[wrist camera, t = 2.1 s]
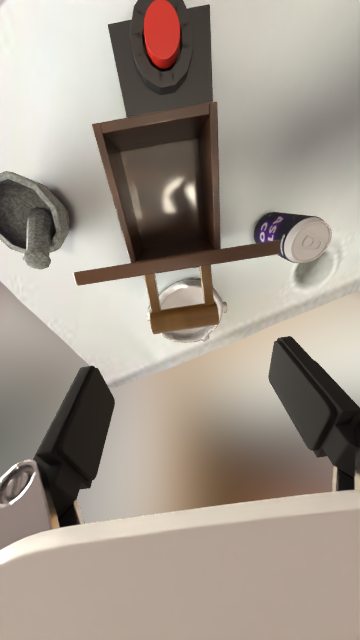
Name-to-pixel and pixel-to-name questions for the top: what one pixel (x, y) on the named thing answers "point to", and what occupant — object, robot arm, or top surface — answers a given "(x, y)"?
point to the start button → (162, 33)
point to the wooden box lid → (189, 314)
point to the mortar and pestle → (31, 219)
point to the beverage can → (294, 235)
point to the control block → (171, 83)
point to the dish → (184, 296)
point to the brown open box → (164, 180)
